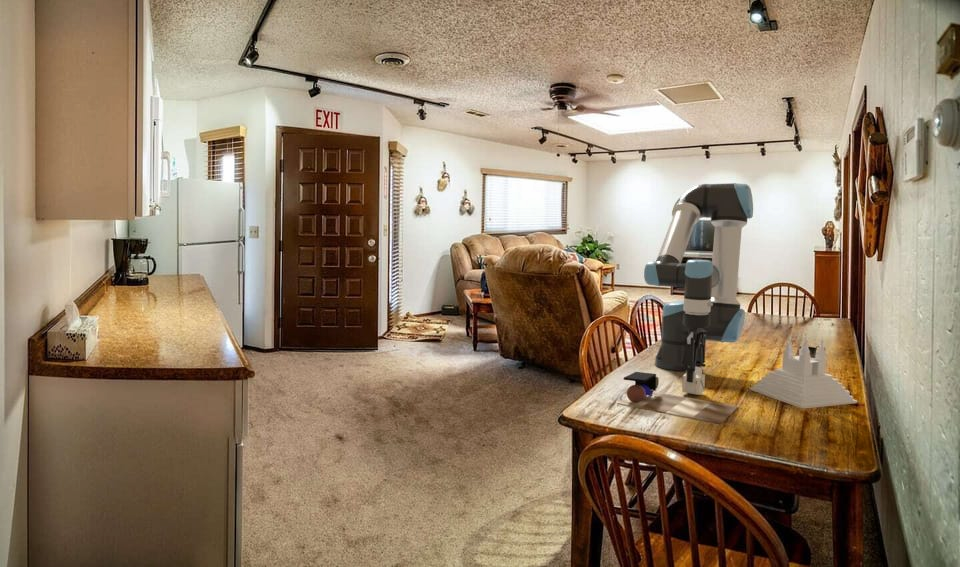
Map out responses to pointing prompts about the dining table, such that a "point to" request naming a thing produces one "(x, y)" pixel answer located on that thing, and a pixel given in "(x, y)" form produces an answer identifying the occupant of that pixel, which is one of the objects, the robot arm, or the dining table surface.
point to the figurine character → (641, 385)
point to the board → (683, 407)
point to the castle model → (804, 380)
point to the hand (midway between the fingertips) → (693, 390)
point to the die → (699, 383)
